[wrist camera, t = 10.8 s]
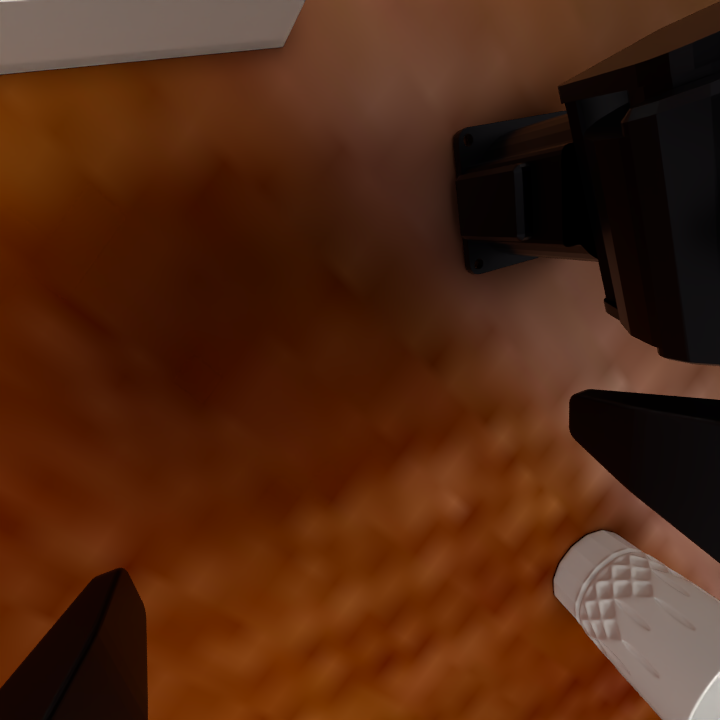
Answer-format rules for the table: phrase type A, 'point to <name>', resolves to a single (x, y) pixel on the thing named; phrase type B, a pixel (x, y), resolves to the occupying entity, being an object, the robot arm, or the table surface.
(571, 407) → the robot arm
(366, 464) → the table surface
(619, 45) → the table surface
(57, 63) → the bin
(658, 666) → the white cup
